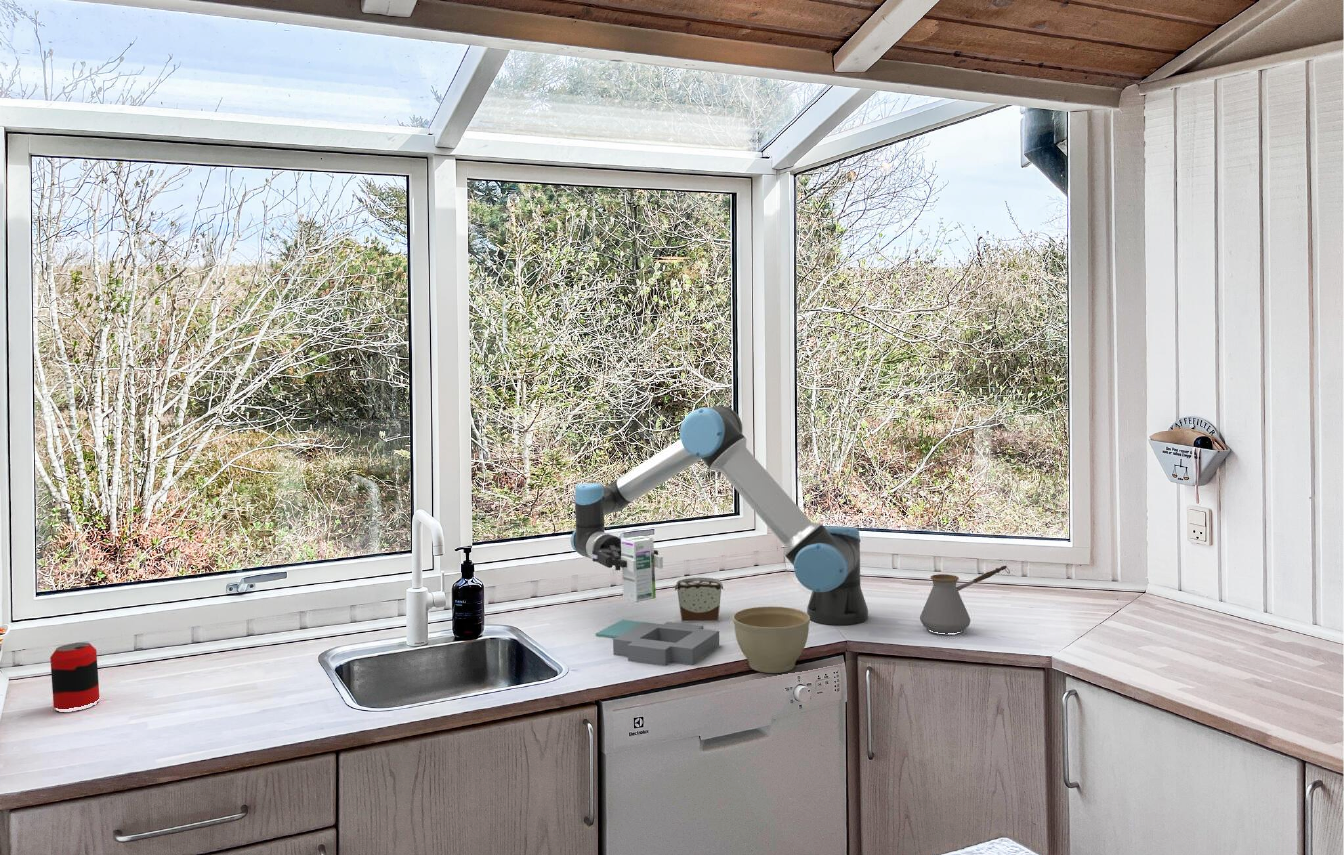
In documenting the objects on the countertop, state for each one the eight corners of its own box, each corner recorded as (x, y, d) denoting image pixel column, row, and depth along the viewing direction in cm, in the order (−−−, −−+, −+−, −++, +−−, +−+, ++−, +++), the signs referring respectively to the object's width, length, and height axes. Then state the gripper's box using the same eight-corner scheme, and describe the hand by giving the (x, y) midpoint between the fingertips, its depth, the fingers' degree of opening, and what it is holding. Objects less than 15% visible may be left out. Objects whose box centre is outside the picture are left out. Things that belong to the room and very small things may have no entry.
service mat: (668, 627, 220) (668, 624, 220) (643, 641, 209) (643, 639, 209) (622, 621, 226) (622, 619, 226) (595, 635, 214) (595, 633, 214)
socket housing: (723, 642, 206) (723, 627, 206) (687, 668, 188) (686, 652, 188) (649, 633, 215) (648, 619, 214) (607, 657, 197) (607, 642, 197)
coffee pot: (929, 638, 204) (928, 574, 204) (913, 625, 216) (912, 564, 215) (1020, 634, 206) (1019, 570, 205) (999, 621, 217) (998, 560, 216)
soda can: (71, 715, 171) (67, 654, 171) (44, 710, 174) (40, 650, 173) (108, 701, 178) (104, 642, 178) (82, 697, 181) (78, 639, 181)
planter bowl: (731, 679, 181) (730, 626, 181) (736, 654, 197) (735, 605, 197) (811, 680, 179) (810, 627, 178) (810, 655, 195) (809, 606, 194)
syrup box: (636, 602, 207) (634, 541, 206) (622, 598, 212) (620, 537, 211) (656, 598, 211) (654, 538, 210) (641, 594, 215) (640, 534, 215)
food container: (725, 615, 230) (724, 576, 229) (724, 621, 224) (723, 582, 223) (677, 615, 231) (676, 577, 231) (675, 621, 225) (674, 582, 224)
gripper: (640, 558, 231) (684, 575, 211) (571, 568, 222) (611, 586, 202) (639, 530, 231) (683, 543, 211) (570, 538, 222) (610, 553, 202)
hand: (648, 564), depth 206 cm, fingers closed on syrup box, 6 cm apart
